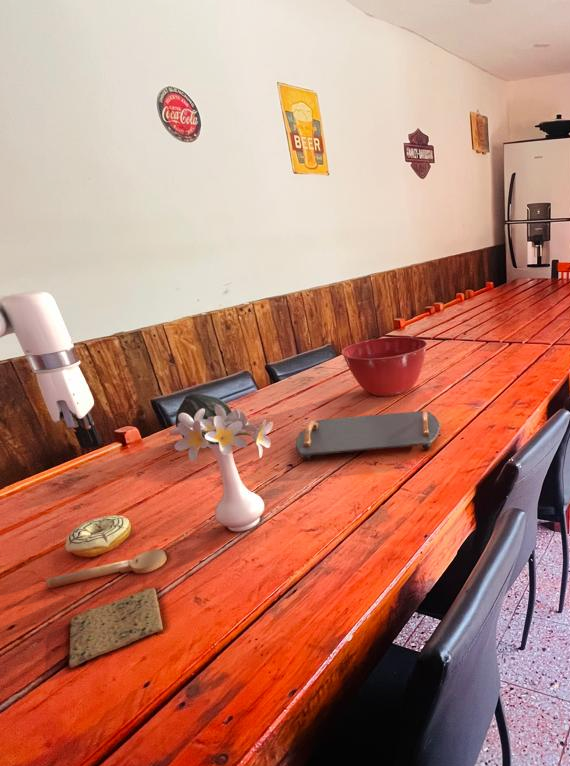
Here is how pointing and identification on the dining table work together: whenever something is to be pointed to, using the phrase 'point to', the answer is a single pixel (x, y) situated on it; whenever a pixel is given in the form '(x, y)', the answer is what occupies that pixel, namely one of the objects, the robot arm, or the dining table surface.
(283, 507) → the dining table surface
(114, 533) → the decorated donut
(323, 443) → the serving tray
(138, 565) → the spoon
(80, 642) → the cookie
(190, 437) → the flower vase
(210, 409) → the squash
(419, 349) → the mixing bowl
